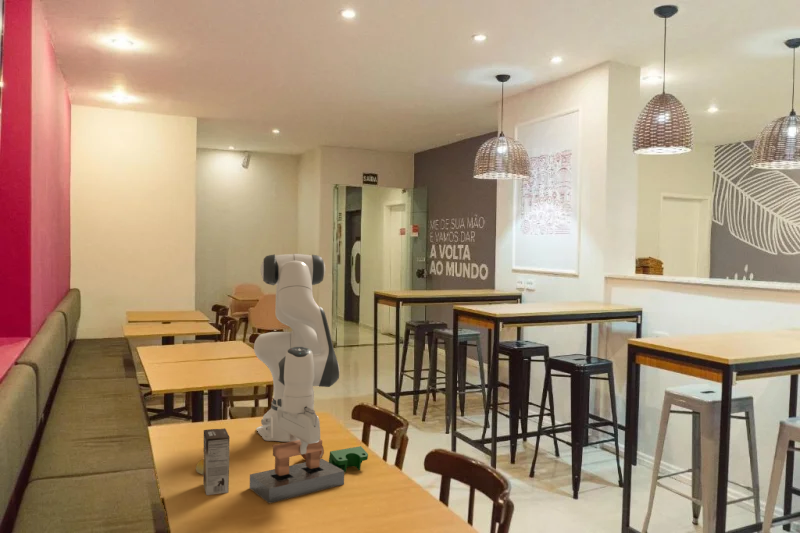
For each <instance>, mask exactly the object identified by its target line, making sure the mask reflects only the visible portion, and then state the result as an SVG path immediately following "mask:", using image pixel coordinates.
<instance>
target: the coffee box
mask: <svg viewBox="0 0 800 533" xmlns="http://www.w3.org/2000/svg"><path fill="white" fill-rule="evenodd" d="M203 459H204V464H203V474H202V475H203V476H202V477H203V483H202V484H203V488H204V492H205V495H206V496H211V495H218V494H219V495H221V494H227V493H229V491H230V490H229V489H230V488H229V487H230V486H229V482H230V478H229V477H230V434H229V432H228V431H227V429H226V428H212V429H211V428H210V429H203Z"/></svg>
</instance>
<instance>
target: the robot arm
mask: <svg viewBox="0 0 800 533" xmlns="http://www.w3.org/2000/svg"><path fill="white" fill-rule="evenodd" d="M325 275H326V263H325V261H324V259H323V258H322V256H321V255H317V254H311V255H310V254H306V253H305V254H304V253H288V254H269V255H266V256H265V257H264V258H263V261H262V262H261V264H260V276H261V278H262V281H263V282H264V283H265V284H267V285H271V286H275V285H276V289H275V307H274V308H275V309H274V310H275V312H274V314H275V318H276V319H277V320H278V321H279V323H281V324H283V325H285V326H287V327H289V328H290V329H291V331H271V332H270V331H269V332H266V333H262V334H259V335H258V336H257V337H256V339H255V341H254V344H253V352H254V355H255V356H256V358H257V359H258V360H259V361H261V362H262V363H263V364H265V365H266V366H267V369H269V372H270V373H271V377H272V382H273V398H271V406H270V409H268V410H267V412H266V413H264V414H263V417H262V418H261V421H260V422H261V423H260V424H261V425H260V426H258V427H256V428H255V431H256V430H257V431H258V432H257V431H256V432H257V434H259V435H260V436H262V437H261V438H262V439H263V441H268V442H269V441H270V442H272V441H273V442H274V441H275V442H282V443H286V442H292V441H297V440H300V442H301V446H300V447H299V453H301V454H305V453H306V448H307V446H308V444H312V443H317V442H319V440H320V439H321V426H320V424H321V423H320V419H319V416H318V415H317V414H316V411H315V391H314V387H318V388H319V387H320V388H321V387H322V388H323V387H324V388H330V387H332V386H334V384H336V383H337V381H338V380H339V379H340V372H341V371H340V369H341V368H340V365H339V361H338V358H337V355H336V352H335V349H334V344H333V339H332V335H331V331H330V327H329V322H328V320H327V315H326V312H325V311H324V308H323V307H322V306H320V305H318V304H317V302H316V300H315V299H314V292H313V286H315V285H318V284H321V283H322V282H323V281H324V278H325Z"/></svg>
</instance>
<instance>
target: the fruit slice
mask: <svg viewBox="0 0 800 533" xmlns="http://www.w3.org/2000/svg"><path fill="white" fill-rule="evenodd" d="M324 454H325V450H324V446H323V445H322V450H321V451H320V459H323V456H324ZM300 456H301V457H302V458H303V459H304V460H305V461H306V454H302V455H300Z"/></svg>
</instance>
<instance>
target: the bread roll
mask: <svg viewBox="0 0 800 533" xmlns="http://www.w3.org/2000/svg"><path fill="white" fill-rule="evenodd" d="M203 464H204V458H202V459H201V460H200V461H198V462H197V464H196V467H195V471H196V473H198V474H200V475H203Z"/></svg>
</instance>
